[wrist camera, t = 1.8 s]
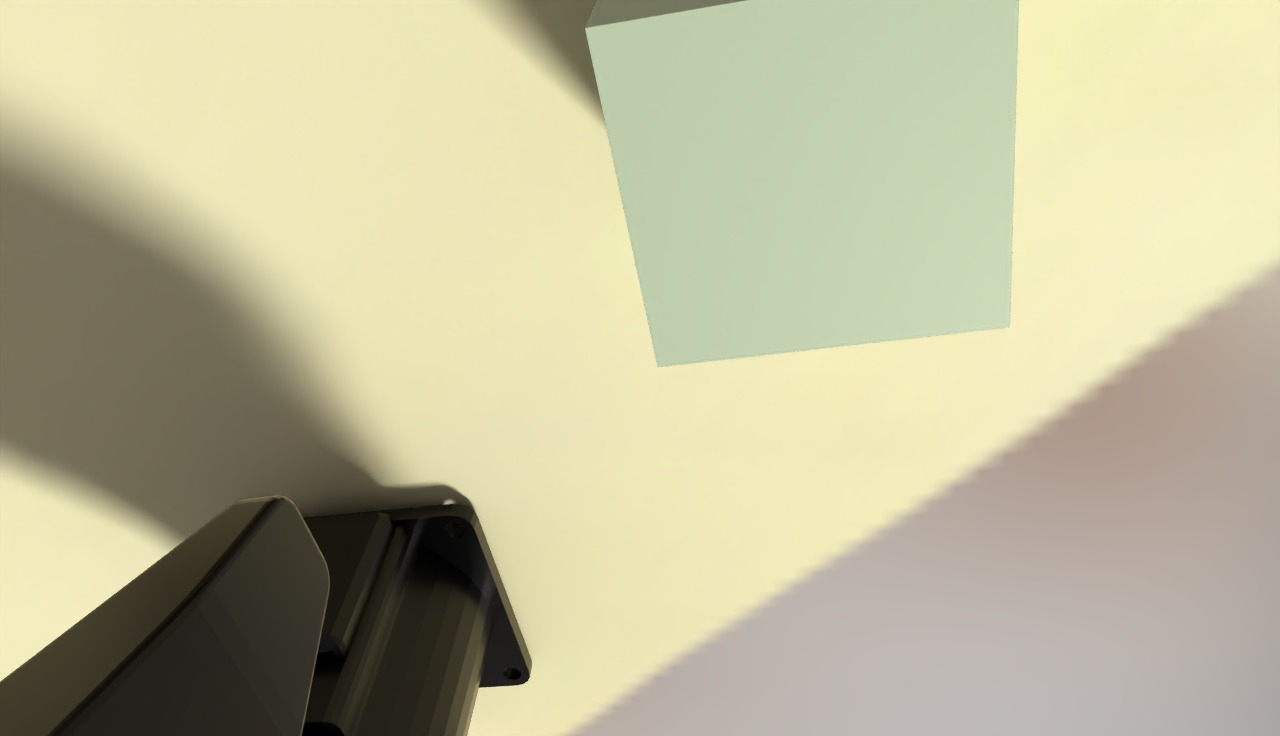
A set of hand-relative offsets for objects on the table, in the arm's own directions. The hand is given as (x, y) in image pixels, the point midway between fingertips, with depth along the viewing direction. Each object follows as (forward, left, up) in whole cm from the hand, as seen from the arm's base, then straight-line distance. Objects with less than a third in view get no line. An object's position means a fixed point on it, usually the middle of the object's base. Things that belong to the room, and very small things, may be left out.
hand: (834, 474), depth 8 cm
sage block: (0, 0, -12) cm, 12 cm away
